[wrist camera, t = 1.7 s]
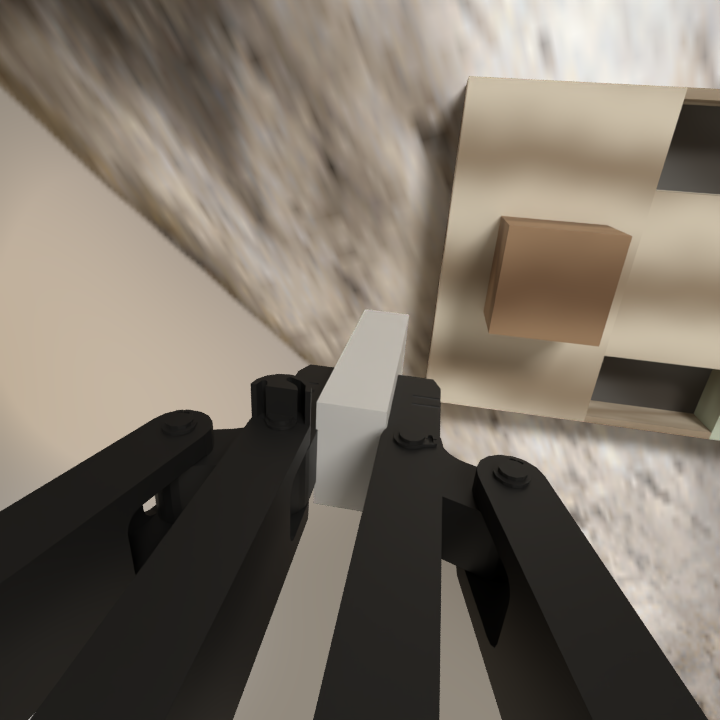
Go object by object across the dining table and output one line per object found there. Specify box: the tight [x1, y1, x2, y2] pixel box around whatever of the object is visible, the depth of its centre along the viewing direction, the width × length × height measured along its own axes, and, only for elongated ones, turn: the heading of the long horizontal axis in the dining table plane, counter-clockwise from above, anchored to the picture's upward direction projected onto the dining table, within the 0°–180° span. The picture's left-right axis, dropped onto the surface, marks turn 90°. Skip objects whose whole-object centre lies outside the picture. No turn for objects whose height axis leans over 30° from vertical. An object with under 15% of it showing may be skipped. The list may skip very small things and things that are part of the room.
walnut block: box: [483, 216, 632, 347], centre depth 27 cm, size 6×6×4 cm
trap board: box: [426, 76, 720, 441], centre depth 27 cm, size 20×30×6 cm, turn 85°
